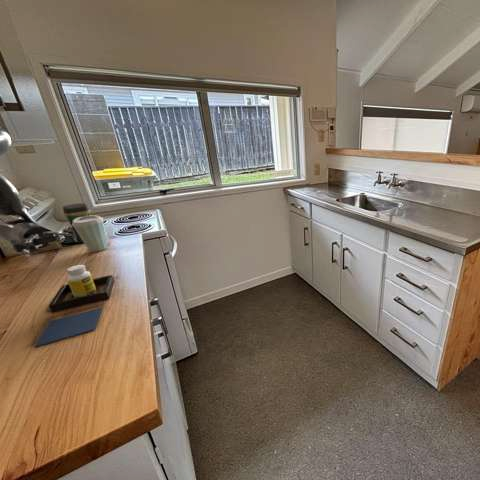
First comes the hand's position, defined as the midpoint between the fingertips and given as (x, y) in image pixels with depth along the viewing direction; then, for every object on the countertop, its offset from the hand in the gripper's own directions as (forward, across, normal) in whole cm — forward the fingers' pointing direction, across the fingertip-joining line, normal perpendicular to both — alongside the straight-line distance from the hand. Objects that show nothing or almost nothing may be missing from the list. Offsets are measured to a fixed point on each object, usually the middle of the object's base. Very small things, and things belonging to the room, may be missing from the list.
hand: (53, 243), depth 80 cm
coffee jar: (-52, +24, +16) cm, 60 cm away
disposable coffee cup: (-32, +20, +16) cm, 41 cm away
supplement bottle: (+11, 0, +16) cm, 20 cm away
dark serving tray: (+11, 0, +16) cm, 19 cm away
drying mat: (+26, -9, +16) cm, 31 cm away
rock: (-54, +9, +16) cm, 57 cm away
